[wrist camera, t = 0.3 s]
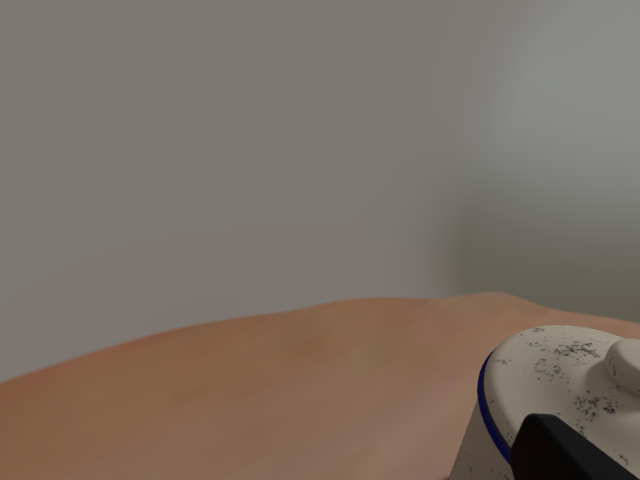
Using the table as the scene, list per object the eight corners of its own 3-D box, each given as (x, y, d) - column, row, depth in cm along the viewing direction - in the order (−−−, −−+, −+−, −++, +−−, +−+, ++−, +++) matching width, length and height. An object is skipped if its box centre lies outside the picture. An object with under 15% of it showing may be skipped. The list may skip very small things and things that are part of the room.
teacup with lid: (449, 661, 19) (551, 470, 13) (421, 446, 27) (476, 261, 20) (774, 694, 19) (1036, 519, 13) (652, 469, 26) (777, 292, 20)
